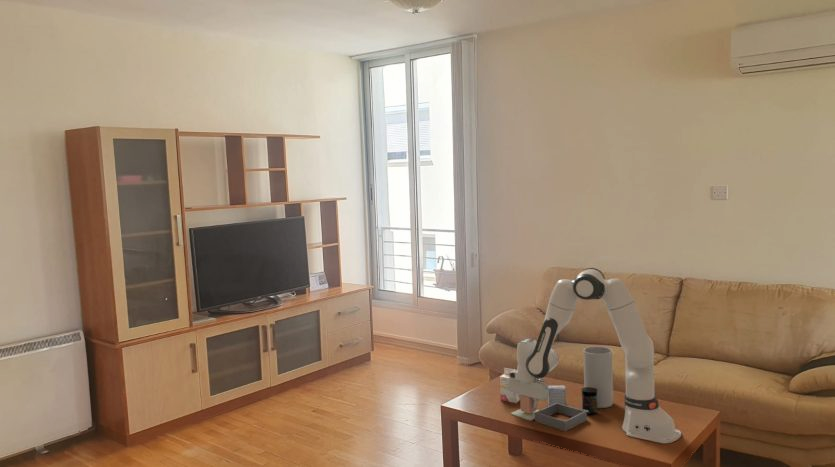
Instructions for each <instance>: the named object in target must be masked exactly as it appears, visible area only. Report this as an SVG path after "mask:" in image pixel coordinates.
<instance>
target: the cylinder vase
mask: <svg viewBox="0 0 835 467" xmlns="http://www.w3.org/2000/svg"><path fill="white" fill-rule="evenodd" d="M613 368H614V367H613V350H612V348H609V347H605V346H588V347H585V348H583V381H584V382H583V383H584V384H583V386H584V387H583V388H585V387H592V388H595V389H597V402H598V409H606V408H609V407H612V406H613V404H614V384H613V383H614V382H613V381H614V380H613V378H614V376H613V374H614V372H613Z"/></svg>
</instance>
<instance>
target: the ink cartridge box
mask: <svg viewBox="0 0 835 467" xmlns="http://www.w3.org/2000/svg"><path fill="white" fill-rule="evenodd" d="M514 370H516V369H515V368H510V367H509V368H507V367H503V374H501V375H500V376H499V389H500V390H499V391H500V392H499V395H500V401H502V402H509V403H512V404H513V403H514V404H517V403H518V402H520V399H519V397H518V394H516V393H513V392H510V391H509V389H508V379H509V376H508V373H509V372H511V371H514Z"/></svg>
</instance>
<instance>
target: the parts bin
mask: <svg viewBox="0 0 835 467" xmlns="http://www.w3.org/2000/svg"><path fill="white" fill-rule="evenodd" d="M538 410H539V411H537V412H535V419H534V422H536V423H539V424H542V425H545V426H548V427H551V428H554V429H558V430H561V431H563V432H568V431H569V430H571V429H573V428H575V427H577V426H579V425H580V424H583V423H585V422H587V421H588V415H587V411H584V410H582V408H581V409H580V408H577V407H574V406H570V405H567V404H566V405H563V404H560V403H554V404H552V405H550V406H549V405H548V406H545V407H544V408H541V409H538ZM556 413H558V414H561V415H562V414H563V415H565V416H568V417H570V418H568V419H566V420H563V419H560V418H557V417H553V416H552V415H554V414H556Z"/></svg>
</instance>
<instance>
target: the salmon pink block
mask: <svg viewBox="0 0 835 467" xmlns="http://www.w3.org/2000/svg"><path fill="white" fill-rule="evenodd" d="M519 402H520V403H519V404H520V409H521V411H523V412H526V413H529V414H530V413H532V412H535V411H537V410H538V409H537V407H536V408H533V407H532V403H534V400H533V398H530V397H527V396H523V395H520V401H519Z"/></svg>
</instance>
